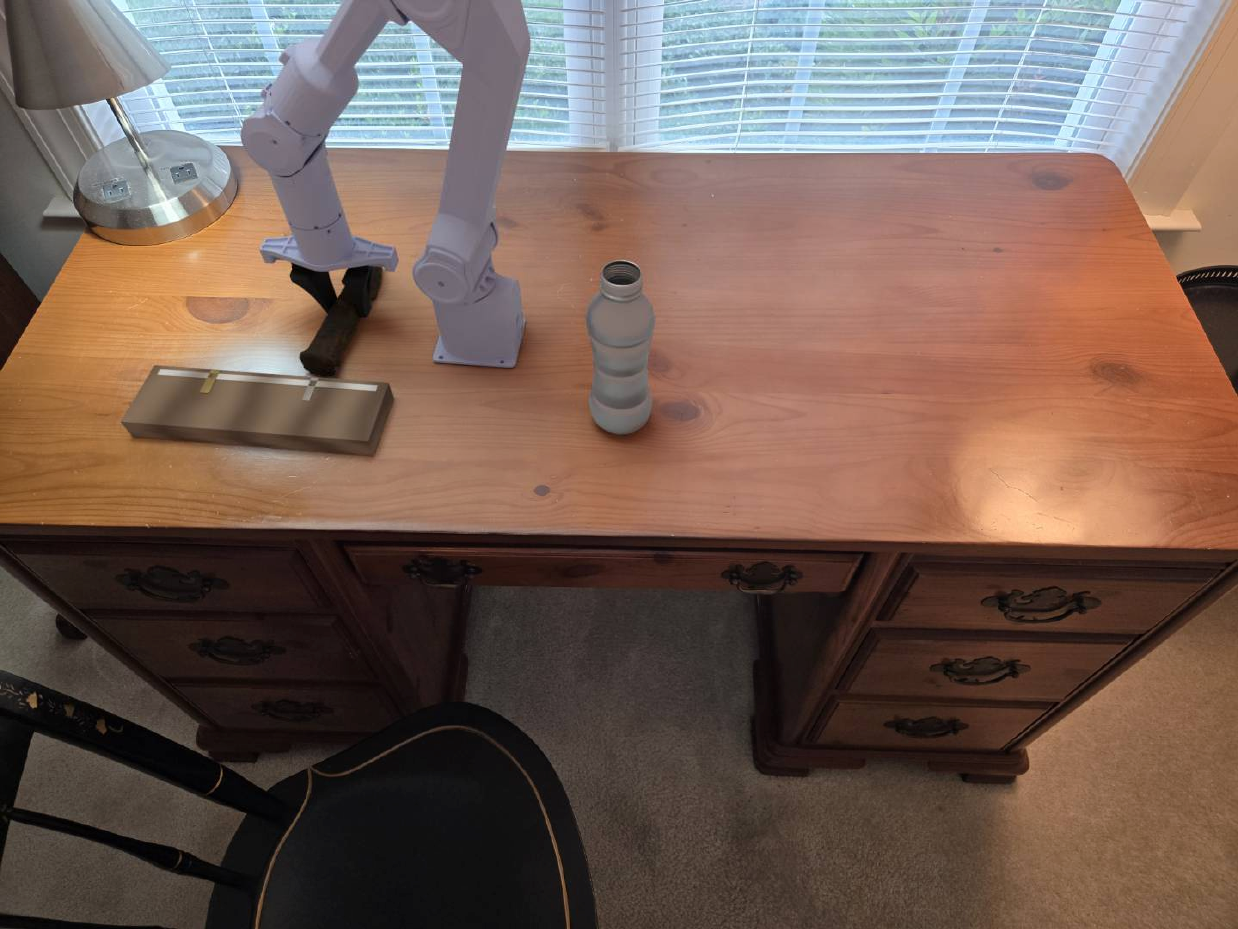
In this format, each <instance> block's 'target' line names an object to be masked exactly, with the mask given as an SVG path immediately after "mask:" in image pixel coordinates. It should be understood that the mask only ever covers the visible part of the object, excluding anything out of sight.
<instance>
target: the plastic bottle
mask: <svg viewBox="0 0 1238 929" xmlns="http://www.w3.org/2000/svg"><path fill="white" fill-rule="evenodd" d="M598 285H599V291H598V292H597V293H596V294H595V295H594V296H593V297H592V298H591V300H589V304H588V306H587V309H586V312H585V324H586V329H587V333H588V338H589V343H590V345H591V353H592V360H593V361H592V363H593V374H592V385H591V388H590V392H589V401H588V406H589V410H590V414H591V416H592V419H593V420H594V422H595V423H596V424H597V425H598V426H599V427H600V428H601V429H603V430H604V431H606V432H608V433H611V434H614V435H620V436H621V435H629V434H632V433H634V432H637V431H638V430H640V429H641V428H643V427H644V426H645V425H646V424H647V422H648V420H649V418H650V415H651V411H652V408H653V400H652V394H651V389H650V387H649V376H648V364H649V362H648V361H649V355H650V354H649V352H650V347H651V343H652V339H653V336H654V331H655V325H656V314H655V311H654V308H653V305H652V304H651V302H650V300H649V299H648V297H646V295H645V294H644V293H643V291H644V289H643V288H644V283H643V271H642V269H641V266H639V264H636V263H635V262H633V261H630V260H628V259H626V260H625V259H616V260H615V259H614V260H610V261H609V262H607V263H605V264H604V265H603V266H602V268H601V270H600V281H599V284H598Z"/></svg>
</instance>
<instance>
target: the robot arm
mask: <svg viewBox="0 0 1238 929" xmlns="http://www.w3.org/2000/svg"><path fill="white" fill-rule="evenodd" d="M526 19H527V18H526V16H525V11H524V7H523V2H522V0H342V1H341V3H340V5H339V7H338V9H337V10H336V12H335V14H334V15H333V17H332V19H331V20H330V23H329V25H328V26H327V28H326V29H325V32H324V33H323V35H322V37H321V38H313V37H312V38H305V39H303V40H301V41H299V42H298V43H297V44H296V45H295V44H294V43H289V44H288V45H287V46H286V47H285V48H284V49H283V50H282V52H281V53H280V56H279V57H278V62H280V63H281V64H282V65H283V67H282V68H281V70H280V72H278V73H279V74H278V75H277V77H276V78H275V80H274V82H271V81H268V82H267V83H266V84H265V85H264V86H263V88H262V90H261V91H260V97H261V98H262V99H263V103H262V104H261V105H260V106H259V107H258V108H257V109H256V110H255V111H254V112H253V113H252V114H251V115H248V116H247V117H245V119H243V120H242V127H241V129H240V139H241V143H242V147H243V149H244V150H245V152H246V154H247V155H248V156H249V158H250V159H251V160H252V161H253V162H254V163H255V164H256V165H257V166H259V167H260V168H261V169H263V170H264V171H265V172H267V173H268V176H269V178H270V180H271V183H272V186H273V189H274V191H275V194H276V196H277V198H278V202H279V204H280V206H281V210H282V211H283V214H284V217H285V220H286V221H287V224H288V227H289V230H290V232H291V235H290V236H282V237H265V238H264V240H263V242H262V243H261V245H260V247H259V249H258V250H259V253H260V255H261V257H262V259H263V261H264V264H275V263H276V261H286V262H289V263H290V264H291V271H290V273H289V276H288V277H289V278H290V280H291V283H293V284H295V285H296V286H299V288H301V289H302V290H304V291H305V292H306V293H308V294H309V296H311V297H312V298H313V300H315V301H316V303H317V304H318V305H319V306H320V307H321V308H322V310H323V311H324V312H325V313H326V314H328V313H329V311H330V309H331V308H332V306H333V304H334V303H335V301H336V299H337V297H338V295H337V293H336V289H335V287H334V285H333V282H332V279H331V274H330V272H332V271H340V270H345V272H344V274H343V277H342V279H341V283H342V285H343V287H344V286H345V287H346V288H347V290H348V291H349V293H350V294H351V296H352V298H353V300H354V302H355V305H356V308H357V311H358V314H359V316H360V317H361V319H368V317H369V315H370V313H371V310H372V301H371V280H372V274H373V270H374V267H382V268H384V270H385V272H392V273H395V271H396V270H397V267H398V264H399V261H400V259H399V256H398V252H397V249H396V246H391V245H386V244H382V243H378V242H375V241H373V240H372V241H371V240H369V239H366V238H363V237H360V236H357V235H354V234H352V233H351V229H350V227H349V223H348V220H347V218H346V213H345V211H344V207H343V205H342V202H341V198H340V196H339V193H338V189H337V185H336V183H335V179H334V177H333V173H332V171H331V170H332V169H331V167H330V165H329V161H328V158H327V156H329V152H328V150H327V145H326V141H327V138H328V137H329V134H330V130H331V128H332V127H333V126H334V124H335V123H336V122H337V120H338V119H339V117H340V116H341V115H342V113H343V112H344V111H345V110H346V109H347V106H348V105H349V104H350V102H351V101H352V100H353V99H354V97H355V96H356V94H357V93H358V90H359V85H360V82H359V77H358V73H357V70H356V68H355V66H356V64H357V63H358V62H359V61H360V60H361V58H362V57H363V55H364V54H365V53H366V51H367V50H368V49H369V47H370V46H371V45H372V44H373V43H374V41H375V40H376V39H377V37H378V36H379V35H380V33H381V32H382V30H384V28H385V26H386V25H387V24H388V23H389V22H390V21H391V22H393V23H395V24H397V25H398V26H401V27H404V26H407V25H408V23H410V21H411V22H412V23H413V24H414V25H415V26H417V27H418V28H419V29H420V30H421V31H423V32H424V33H425V34H426V35H428V37H430V38H431V40H433V41H434V42H435V43H436V44H437V45H439V46H440V47H441V48H442V49H443V50H445V51H446V52H447V53H448V54H449V55H450V56H452V57H453V58H454V59H456V60H457V62H458V63H461V64H462V68H461V69H462V70H461V75H460V81H459V87H458V93H457V98H456V104H455V109H454V110H455V112H454V116H453V121H452V129H451V136H450V140H449V145H448V146H449V147H448V151H447V158H446V163H445V168H444V176H443V181H442V187H441V192H440V193H441V194H440V199H439V205H438V210H437V211H438V212H437V214H436V217H435V219H434V222H433V224H432V228H431V230H430V234H429V236H428V238H427V241H426V245H425V248H424V250H423V252H422V254H421V255H420V256H419V257H418V259H417V260H415V262H414V263H413V266H412V272H411V273H412V278H413V281H414V283H415V285H416V286H417V288H418V289H419V290H420V292H422V293H423V294H424V296H426V297H428V298H429V299H430V301H431V303H432V306H433V310H434V315H435V319H436V323H437V328H438V331H439V335H438V338H437V342H436V345H435V348H434V352H433V355H432V361H433V363H438V364H439V363H442V364H453V365H454V364H455V365H469V366H483V367H493V368H507V369H508V368H510V369H511V368H514V367H516V365H517V360H518V356H519V352H520V348H521V342H522V339H523V335H524V329H525V327H526V318H525V316H524V310H523V309H524V308H523V301H522V300H523V299H522V292H521V286H520V282H519V279H516V278H512V277H507V276H505V275H502V274H500V273H498V272H496V270H495V267H494V264H493V257H492V253H493V251H494V250H495V248H496V247H497V245H498V244H499V240H500V234H499V229H498V226H497V222H496V214H497V210H498V206H496V205H495V204H494V203H495V199H496V194H497V191H498V187H499V181H500V178H501V174H502V170H503V167H504V166H503V165H504V161H505V156H506V152H507V148H508V145H509V144H508V143H509V140H510V136H511V131H512V129H513V128H512V127H513V122H514V120H515V115H516V111H517V107H518V102H519V98H520V95H521V94H520V93H521V89H522V86H523V82H524V77H525V73H526V69H527V66H528V61H529V57H530V52H531V35H530V31H529V27H528V23H527V20H526Z"/></svg>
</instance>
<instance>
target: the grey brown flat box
mask: <svg viewBox="0 0 1238 929" xmlns="http://www.w3.org/2000/svg"><path fill="white" fill-rule="evenodd" d="M136 393H137V394H136V395H135V397H134V398H133V400H132V401H131V403H130V405H129V407H128V408H127V410H126V411H125V414H124V415H123V417H122V419H121V420H120V423H121V424H122V426H123V427H124V428H125V429H126V431H127V432H128V433H129V434H130V436H132V437H133V438H143V439H144V438H145V439H158V440H169V441H180V442H181V441H183V442H195V443H209V444H218V445H219V444H220V445H229V446H231V445H232V446H243V447H244V446H245V447H246V446H247V447H258V448H272V449H282V450H283V449H284V450H292V451H293V450H294V451H296V450H297V451H306V452H307V451H309V452H322V453H333V454H334V453H335V454H346V455H356V456H370V457H371V456H372V457H374V456H375V454H376V451H377V448H378V445H379V442H380V439H381V437H382V434H383V431H384V427H385V425H386V422H387V419H388V416H389V414H390V410H391V408H392V404H393V401H394V398H395V397H394V394H393V391H392V388H391V385H390V383H389V382H384V381H372V380H371V381H369V380H359V379H346V378H345V379H344V378H333V377H322V376H316V377H315V376H306V375H291V374H290V375H289V374H277V373H266V372H253V371H239V370H226V369H223V370H222V369H212V368H200V367H199V368H198V367H197V368H196V367H187V366H174V365H173V366H171V365H158V364H154V365H153V366H152V368H151V370H150V372H149V374H148V375H147V377H146V379H145V380H144V381H143V384H142V385H141V386H140V388H139V391H138V392H136Z"/></svg>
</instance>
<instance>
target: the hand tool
mask: <svg viewBox="0 0 1238 929" xmlns="http://www.w3.org/2000/svg"><path fill="white" fill-rule="evenodd" d="M382 275H383V267H374V270H373V274H372V280H371V302H373V301H374V300H375V299H377V297H378V294H379V292H380V287H381V283H382V282H381V281H382V277H383V276H382ZM326 314H327V313H326ZM361 319H362V318H361V317H360V316H359V314H358V311H357V308H356V305H355V302H354V300H353V298H352V296H351V294H350V293H349V291H348V290H347V288H346V287H345V286H344V285H343V288H342V289H341V291H340V293H339V295H337V299H336V301H335V303H334V304H333V306H332V308H331V309H330V311H329V313H328V314H327V315H326V316H325V318H324V320H323V321H322V323H321V325H320V326H319V328H318V330H317V331H316V334H315V336H314V338H313V339H312V340H311V342H310V343H309V346H308V347H307V348H306V349H305V350H302V351H300V352H299V360H300V363H301V365H302V368H304V370H305V371H307V372H309V374H310V375H312V376H317V377H321V378H333V377H335V376H336V375H337V369H336V368H339V367H340V366H341V357H342V356H343V353H344V352H345V350H346V348H347V346H348V345H349V342H350V339H351V337H352V336H353V334H354V332H356V331H357V327H358V326H359V323H360V322H361Z"/></svg>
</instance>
